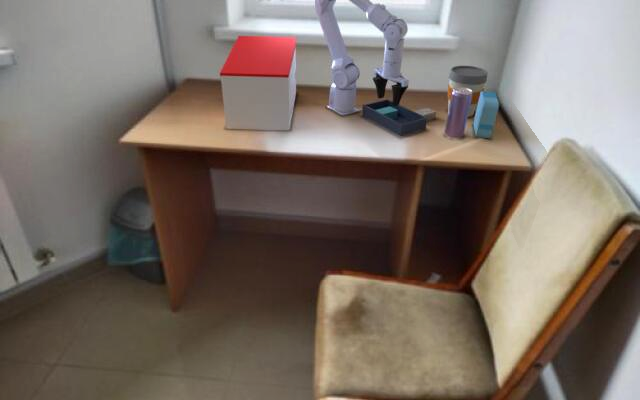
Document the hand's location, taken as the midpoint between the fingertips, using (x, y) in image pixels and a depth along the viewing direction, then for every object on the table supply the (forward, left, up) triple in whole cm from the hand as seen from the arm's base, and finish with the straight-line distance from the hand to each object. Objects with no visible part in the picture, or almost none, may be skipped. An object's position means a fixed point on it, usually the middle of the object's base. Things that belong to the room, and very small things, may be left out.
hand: (388, 101), depth 148 cm
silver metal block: (+7, +11, -6) cm, 15 cm away
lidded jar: (+9, +27, -7) cm, 30 cm away
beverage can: (+21, +10, -7) cm, 24 cm away
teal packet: (0, 0, -6) cm, 6 cm away
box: (+4, 0, -6) cm, 7 cm away
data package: (+24, +20, -7) cm, 32 cm away
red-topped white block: (-30, -32, -7) cm, 44 cm away
